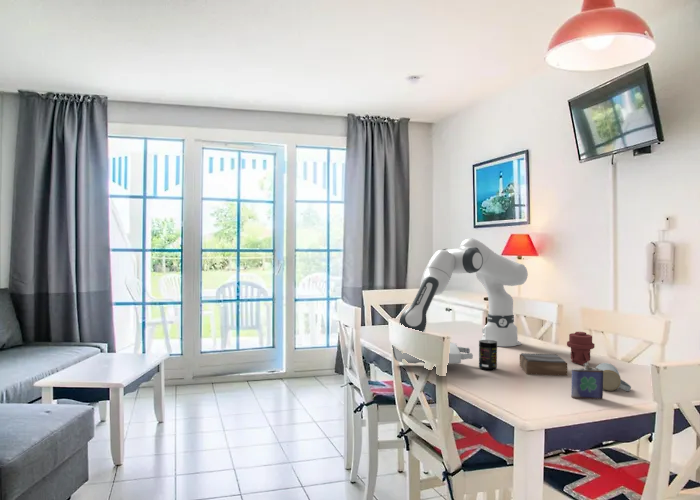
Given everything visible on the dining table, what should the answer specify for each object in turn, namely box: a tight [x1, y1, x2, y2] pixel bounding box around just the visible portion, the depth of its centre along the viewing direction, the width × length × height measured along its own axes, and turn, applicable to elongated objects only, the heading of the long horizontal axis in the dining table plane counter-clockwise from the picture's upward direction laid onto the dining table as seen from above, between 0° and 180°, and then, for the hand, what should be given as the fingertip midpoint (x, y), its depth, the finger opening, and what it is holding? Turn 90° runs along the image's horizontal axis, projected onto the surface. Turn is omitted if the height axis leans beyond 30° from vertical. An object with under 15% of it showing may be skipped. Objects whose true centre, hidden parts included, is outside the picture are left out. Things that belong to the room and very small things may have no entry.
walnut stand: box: [519, 352, 568, 377], centre depth 189 cm, size 13×14×5 cm
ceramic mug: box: [594, 362, 632, 392], centre depth 165 cm, size 11×8×8 cm
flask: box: [570, 362, 604, 401], centre depth 155 cm, size 9×3×11 cm, turn 84°
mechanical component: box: [566, 331, 596, 366], centre depth 200 cm, size 12×10×10 cm
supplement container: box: [478, 339, 498, 372], centre depth 191 cm, size 7×7×10 cm
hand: (471, 353), depth 192 cm, fingers open, 8 cm apart
